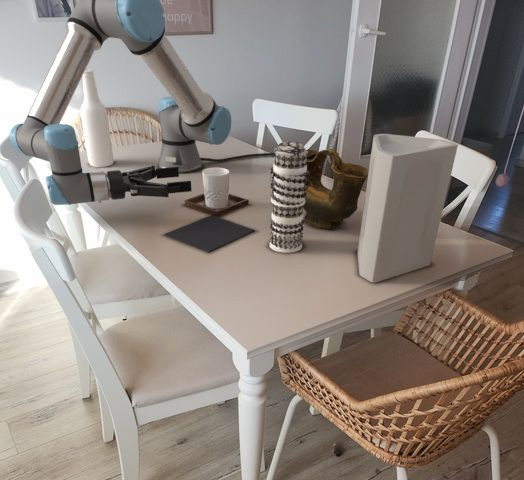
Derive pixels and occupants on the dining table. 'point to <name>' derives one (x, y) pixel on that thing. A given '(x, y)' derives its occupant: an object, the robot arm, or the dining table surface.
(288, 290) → the dining table surface
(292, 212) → the decorative candle
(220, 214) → the wooden frame
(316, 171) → the pottery vessel
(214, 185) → the white cup
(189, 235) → the mat
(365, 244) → the white triangular vase
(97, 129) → the alcohol
